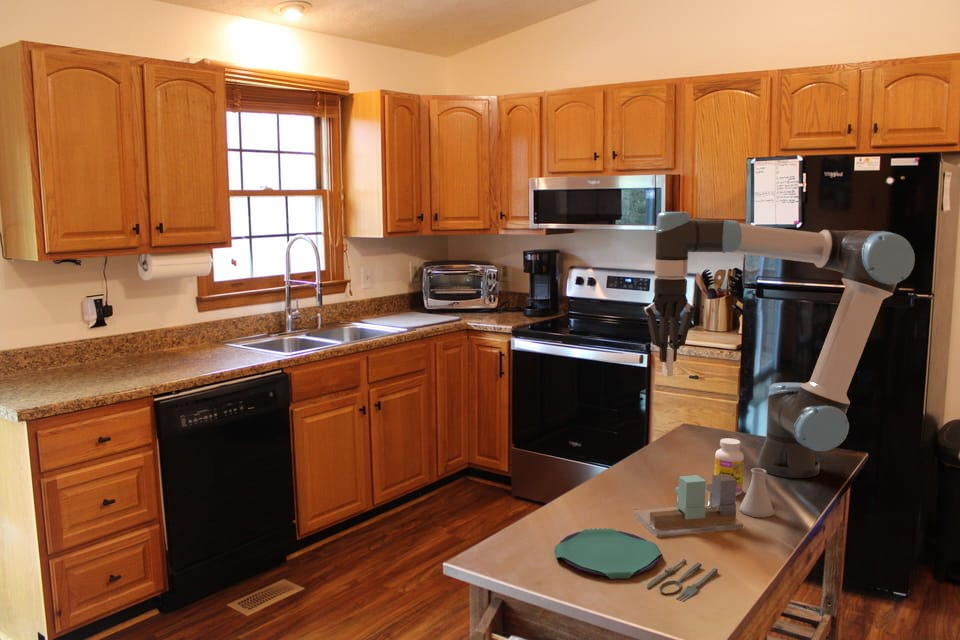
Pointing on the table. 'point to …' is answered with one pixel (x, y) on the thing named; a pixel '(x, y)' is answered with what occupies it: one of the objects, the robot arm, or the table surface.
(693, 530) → the base
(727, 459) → the supplement bottle
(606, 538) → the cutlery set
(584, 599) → the table surface
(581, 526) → the table surface
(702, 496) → the block
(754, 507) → the flask
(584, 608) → the table surface
